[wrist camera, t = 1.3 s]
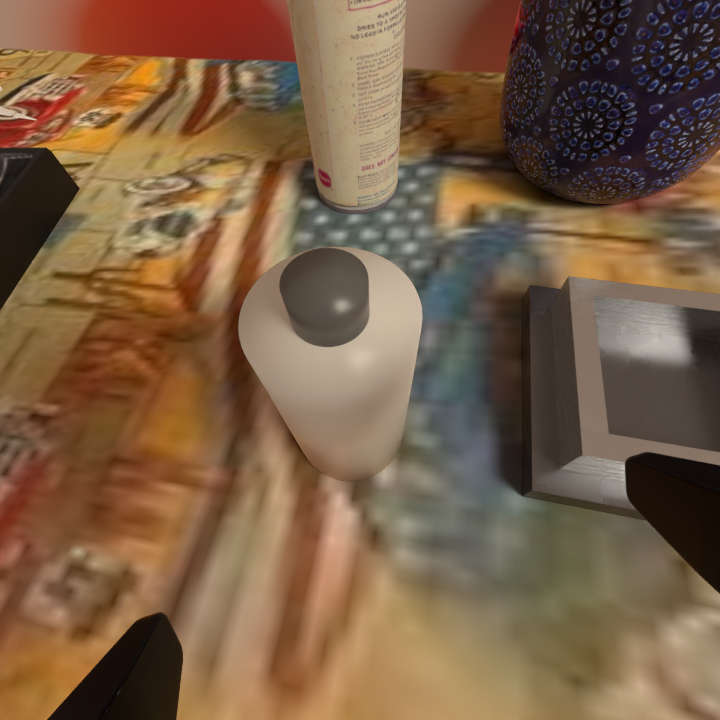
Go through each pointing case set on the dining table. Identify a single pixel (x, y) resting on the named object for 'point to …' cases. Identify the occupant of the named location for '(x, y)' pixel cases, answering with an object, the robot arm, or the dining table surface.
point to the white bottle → (336, 354)
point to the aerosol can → (351, 96)
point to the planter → (612, 95)
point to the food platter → (28, 208)
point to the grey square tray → (615, 386)
